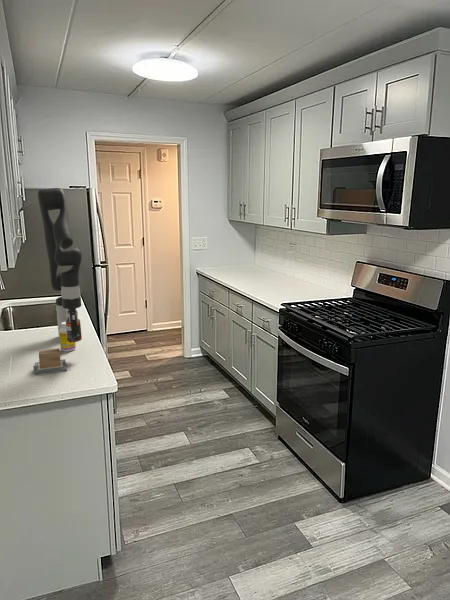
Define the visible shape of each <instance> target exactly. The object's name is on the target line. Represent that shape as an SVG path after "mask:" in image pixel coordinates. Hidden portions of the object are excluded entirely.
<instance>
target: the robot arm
mask: <svg viewBox="0 0 450 600" xmlns="http://www.w3.org/2000/svg"><path fill="white" fill-rule="evenodd" d="M37 199H38V200H37V201H38V204H39V209H40V214H41V218H42V224H43V230H44V240H45V245H46V246H45V247H46V253H47V258H48V263H49V275H50V283H51V284H50V285H51V288H52V290H54V291H55V292H56V291H57V292H58V291H59V292H61V296H59V297H57V298H56V299H55V308H56V310H55V311H56V317H57V318H56V320H57V332H58V333H57V335H58V340H60V333H59V330H60V329H61V328H62V326H61V323H62V322H66V320H67V319H68V317H69V323H70V324H71V332H72V337H77V327H78V326H77V322H78V319H79V318H77V317H79V313H78V310H77V309H80V308H81V307H82V297H81V295H82V294H81V288H80V277H79V276H80V275H79V274H80V268H81V263H82V260H83V259H82V257H83V256H82V251H81V250H80V249H79V248H78V247H72V246H73V244H74V240H73V235H72V232H71V227H70V222H69V221H70V220H69V219H70V218H69V212H68V211H69V210H68V205H67V199H66V194H65V191H64V189H62V188H61V187H51V188H42V189H39V190H38V192H37ZM54 210H59V214H58V216H57V219H56V220H54V219H53V218H52V216H51V214H50V212H49V211H54ZM71 247H72V248H71ZM59 266H60V267H69V266H71V268H70V269H68V270H65V271H64V270H63V271H58V268H59ZM72 323H76V325H72Z"/></svg>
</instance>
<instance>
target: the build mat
mask: <svg viewBox="0 0 450 600" xmlns="http://www.w3.org/2000/svg"><path fill="white" fill-rule="evenodd" d="M60 360H61V366H59V367H50V368H42V369H40V364H39V361H38V362H34V375H44V374H52V373H60V372H66V371H67V362H66V359H65V358H64V359H63V358H62V359H60Z"/></svg>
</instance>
